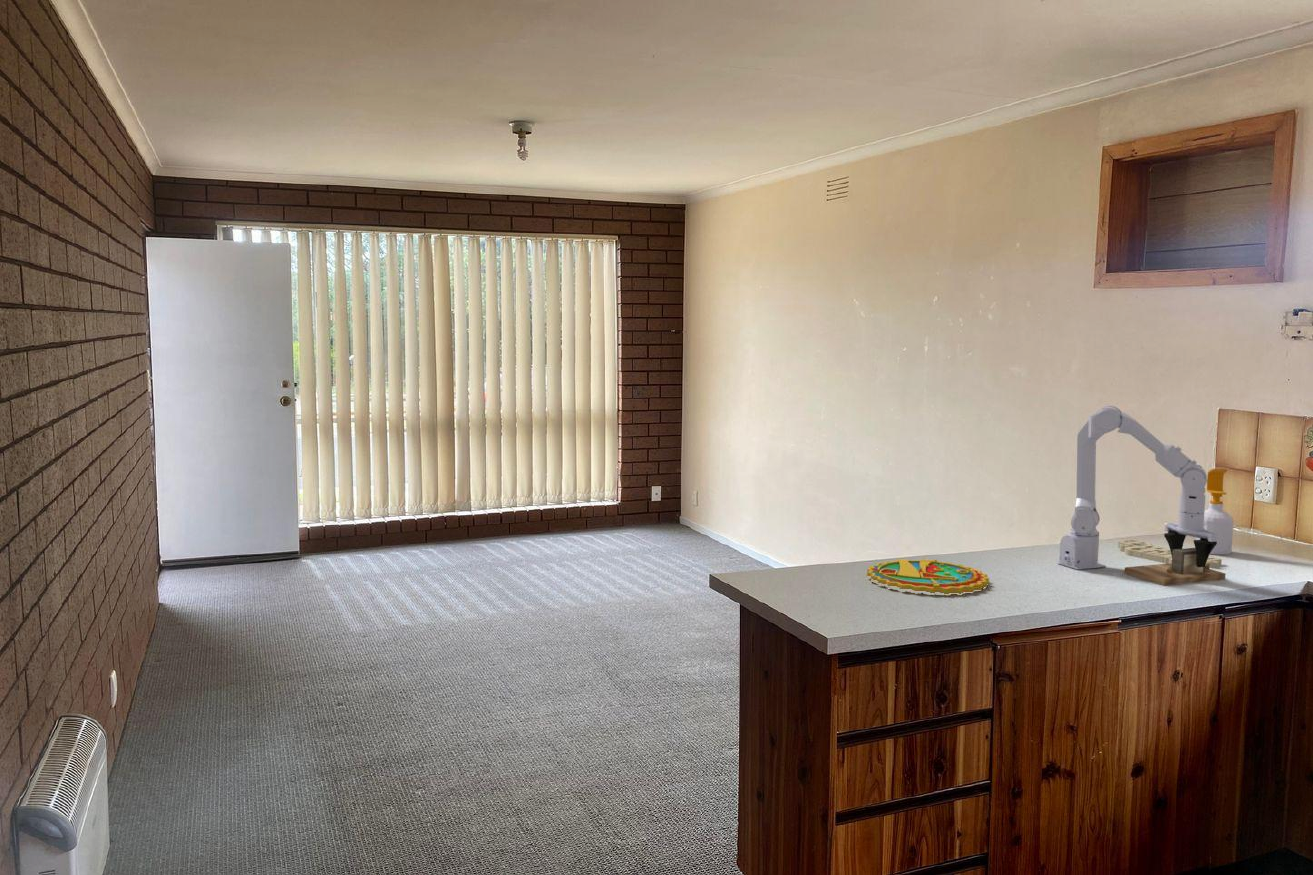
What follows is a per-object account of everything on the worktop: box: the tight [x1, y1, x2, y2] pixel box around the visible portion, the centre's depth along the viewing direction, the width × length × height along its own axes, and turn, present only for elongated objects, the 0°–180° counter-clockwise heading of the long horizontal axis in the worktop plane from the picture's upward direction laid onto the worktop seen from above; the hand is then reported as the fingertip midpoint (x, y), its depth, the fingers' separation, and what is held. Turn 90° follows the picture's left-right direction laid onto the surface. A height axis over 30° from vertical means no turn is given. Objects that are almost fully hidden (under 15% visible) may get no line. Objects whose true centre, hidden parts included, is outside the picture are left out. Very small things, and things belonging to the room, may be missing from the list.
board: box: [1123, 563, 1226, 586], centre depth 249 cm, size 20×13×3 cm, turn 107°
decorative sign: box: [1117, 538, 1222, 569], centre depth 271 cm, size 31×2×15 cm
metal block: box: [1172, 547, 1205, 574], centre depth 248 cm, size 8×3×7 cm, turn 107°
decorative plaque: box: [866, 558, 990, 594], centre depth 245 cm, size 30×3×30 cm
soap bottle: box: [1195, 468, 1234, 556], centre depth 276 cm, size 9×9×25 cm
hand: (1188, 563), depth 248 cm, fingers open, 7 cm apart
